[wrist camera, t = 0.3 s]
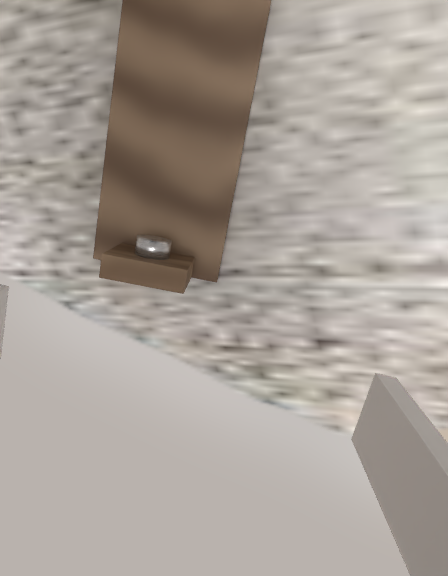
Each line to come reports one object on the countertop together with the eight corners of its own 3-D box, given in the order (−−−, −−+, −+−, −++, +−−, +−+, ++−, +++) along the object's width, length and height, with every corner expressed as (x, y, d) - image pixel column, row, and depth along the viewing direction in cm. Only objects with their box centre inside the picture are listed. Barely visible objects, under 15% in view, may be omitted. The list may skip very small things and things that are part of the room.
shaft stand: (141, -109, 34) (115, -187, 27) (286, -79, 35) (299, -148, 27) (98, 255, 42) (68, 271, 35) (217, 278, 42) (213, 299, 35)
